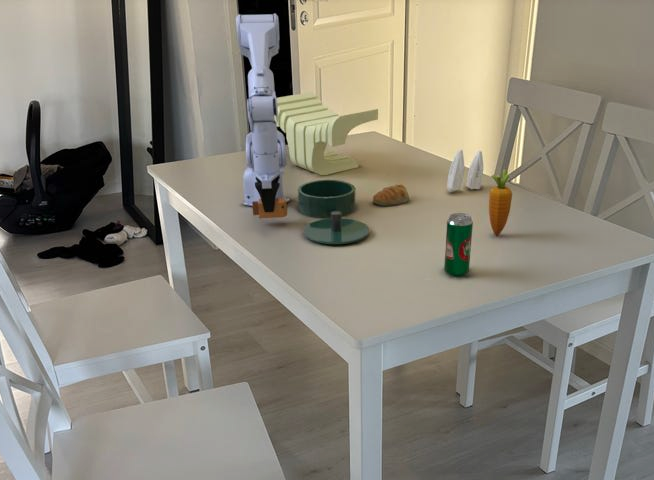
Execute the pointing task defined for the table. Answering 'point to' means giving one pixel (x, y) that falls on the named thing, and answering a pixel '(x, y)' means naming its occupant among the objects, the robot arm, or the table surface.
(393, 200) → the pastry
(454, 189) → the shaker set
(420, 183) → the table surface
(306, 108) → the slatted curved stool
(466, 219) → the soda can
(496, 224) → the carrot
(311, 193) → the pot
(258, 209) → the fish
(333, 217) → the pot lid
